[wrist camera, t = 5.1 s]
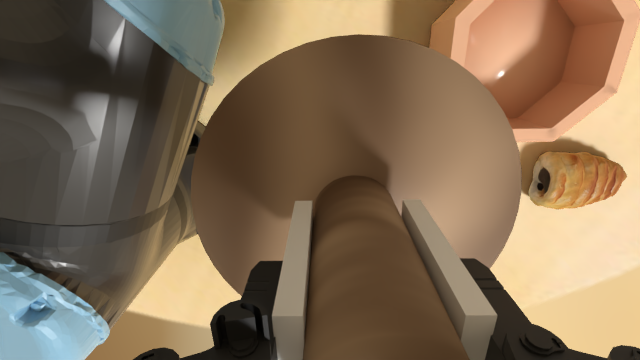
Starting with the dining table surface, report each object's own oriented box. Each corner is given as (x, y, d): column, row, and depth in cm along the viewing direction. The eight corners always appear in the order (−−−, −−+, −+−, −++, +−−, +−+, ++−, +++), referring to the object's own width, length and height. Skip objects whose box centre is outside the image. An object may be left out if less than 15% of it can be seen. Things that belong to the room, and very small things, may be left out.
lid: (222, 318, 20) (125, 565, 10) (173, 40, 14) (-171, 3, 4) (478, 317, 19) (628, 571, 10) (542, 32, 13) (1074, -28, 4)
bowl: (420, 129, 34) (439, 143, 28) (436, -27, 29) (463, -47, 23) (555, 126, 34) (601, 140, 28) (596, -31, 28) (663, -53, 23)
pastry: (620, 147, 34) (654, 158, 31) (601, 202, 37) (630, 218, 33) (534, 148, 35) (558, 159, 31) (521, 203, 37) (541, 218, 34)
